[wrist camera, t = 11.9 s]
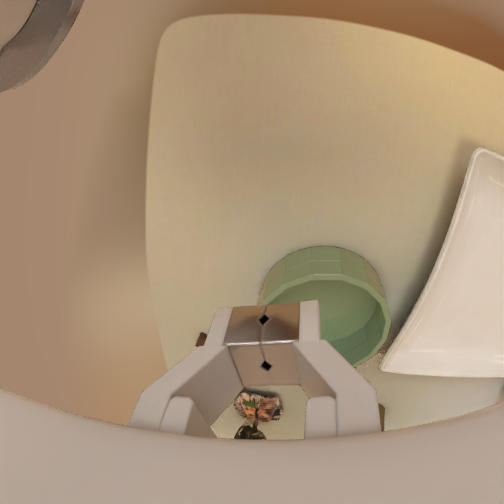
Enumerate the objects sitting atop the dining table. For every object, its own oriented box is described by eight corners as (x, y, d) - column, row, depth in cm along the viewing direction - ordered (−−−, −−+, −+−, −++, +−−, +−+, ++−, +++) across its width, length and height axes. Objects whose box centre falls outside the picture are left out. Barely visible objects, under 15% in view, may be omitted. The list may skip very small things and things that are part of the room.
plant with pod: (226, 416, 48) (198, 520, 31) (241, 382, 43) (211, 511, 25) (271, 427, 48) (254, 532, 31) (295, 396, 43) (280, 523, 25)
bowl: (245, 322, 36) (237, 353, 32) (287, 226, 30) (284, 252, 25) (345, 354, 37) (347, 385, 33) (403, 272, 30) (416, 302, 26)
